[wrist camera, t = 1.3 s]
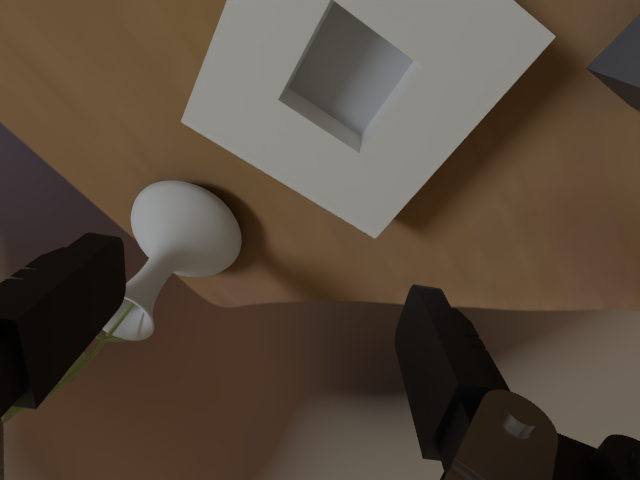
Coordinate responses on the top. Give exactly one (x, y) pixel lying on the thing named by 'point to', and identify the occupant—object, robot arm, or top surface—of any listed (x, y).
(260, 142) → the socket
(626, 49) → the plug
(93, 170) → the top surface
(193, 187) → the flower in vase
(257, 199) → the top surface
